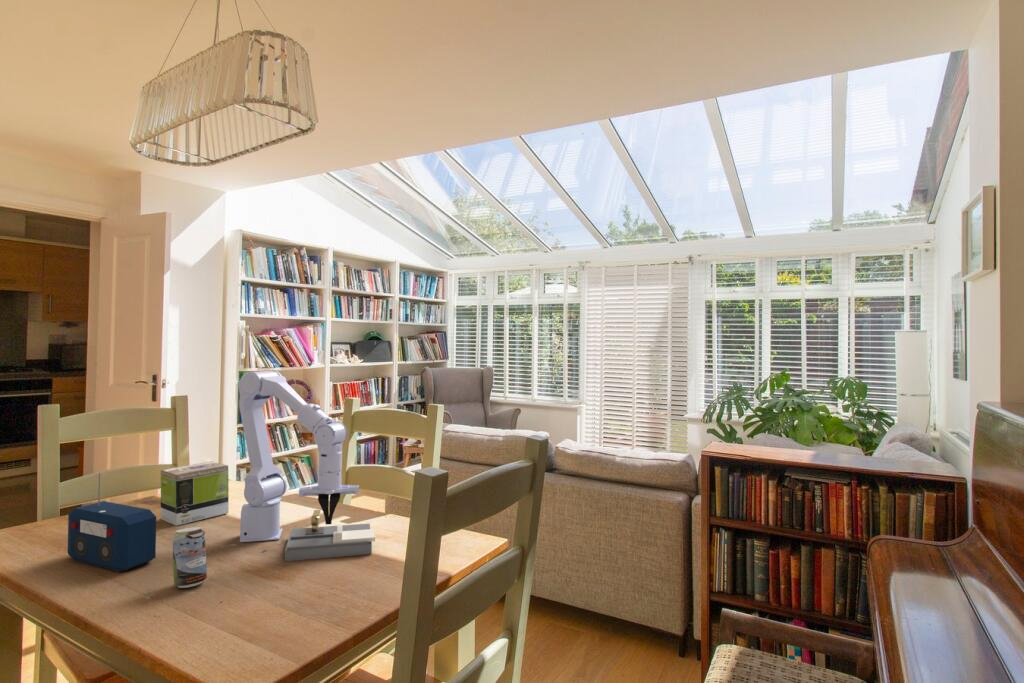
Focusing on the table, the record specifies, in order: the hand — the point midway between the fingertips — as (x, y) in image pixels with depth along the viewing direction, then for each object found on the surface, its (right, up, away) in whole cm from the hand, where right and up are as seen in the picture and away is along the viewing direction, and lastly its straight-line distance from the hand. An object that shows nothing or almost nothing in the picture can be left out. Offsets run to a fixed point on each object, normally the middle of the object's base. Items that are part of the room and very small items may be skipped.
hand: (328, 523), depth 143 cm
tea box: (-46, -5, +21) cm, 51 cm away
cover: (+7, -3, -2) cm, 8 cm away
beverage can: (-22, -6, -24) cm, 33 cm away
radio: (-47, -5, -13) cm, 49 cm away
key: (-5, -3, +6) cm, 8 cm away
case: (0, -6, 0) cm, 6 cm away
